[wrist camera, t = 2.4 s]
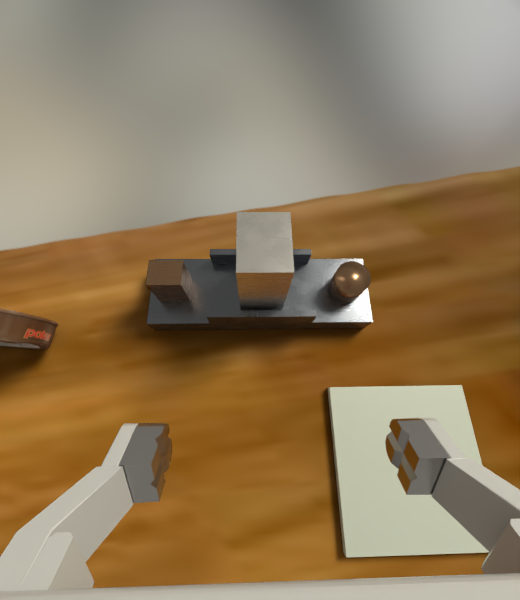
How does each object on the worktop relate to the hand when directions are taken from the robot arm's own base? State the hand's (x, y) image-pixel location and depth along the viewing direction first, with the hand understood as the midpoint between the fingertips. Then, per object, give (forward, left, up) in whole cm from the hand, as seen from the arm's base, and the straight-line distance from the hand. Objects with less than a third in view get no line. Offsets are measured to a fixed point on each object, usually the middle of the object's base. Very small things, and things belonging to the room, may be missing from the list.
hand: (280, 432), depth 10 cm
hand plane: (0, +12, -18) cm, 21 cm away
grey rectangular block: (0, +12, -15) cm, 19 cm away
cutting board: (+13, -4, -18) cm, 22 cm away
